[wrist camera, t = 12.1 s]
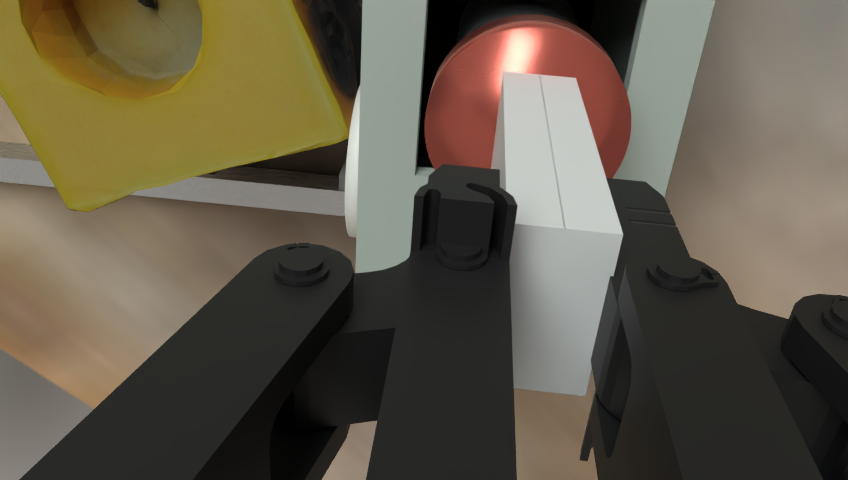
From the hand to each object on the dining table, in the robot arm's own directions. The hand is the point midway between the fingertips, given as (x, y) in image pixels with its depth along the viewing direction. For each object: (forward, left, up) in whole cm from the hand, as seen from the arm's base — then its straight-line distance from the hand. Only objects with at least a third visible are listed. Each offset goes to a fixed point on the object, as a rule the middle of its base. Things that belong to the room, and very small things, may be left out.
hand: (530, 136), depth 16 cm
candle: (-11, 0, -15) cm, 19 cm away
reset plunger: (0, 0, -8) cm, 8 cm away
